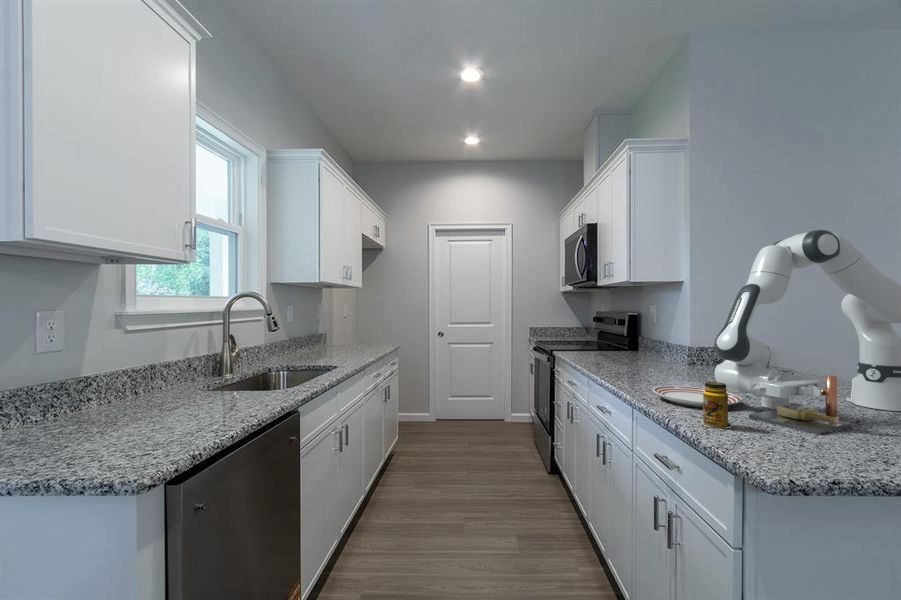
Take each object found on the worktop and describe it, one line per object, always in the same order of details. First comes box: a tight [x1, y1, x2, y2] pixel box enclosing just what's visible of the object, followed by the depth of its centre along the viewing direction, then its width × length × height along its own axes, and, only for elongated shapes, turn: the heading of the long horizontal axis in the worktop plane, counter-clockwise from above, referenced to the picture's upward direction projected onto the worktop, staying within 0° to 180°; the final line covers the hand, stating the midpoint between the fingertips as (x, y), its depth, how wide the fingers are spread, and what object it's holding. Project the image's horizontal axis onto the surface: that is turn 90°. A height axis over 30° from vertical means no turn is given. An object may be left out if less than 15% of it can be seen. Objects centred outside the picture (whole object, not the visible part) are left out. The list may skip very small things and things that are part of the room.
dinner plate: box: [652, 385, 743, 408], centre depth 157 cm, size 27×27×3 cm
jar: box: [761, 369, 796, 410], centre depth 148 cm, size 9×8×12 cm
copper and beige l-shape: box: [777, 374, 840, 423], centre depth 129 cm, size 14×7×13 cm, turn 23°
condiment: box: [700, 381, 733, 430], centre depth 128 cm, size 7×8×12 cm
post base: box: [748, 402, 852, 435], centre depth 130 cm, size 17×18×5 cm
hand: (823, 392), depth 124 cm, fingers closed
